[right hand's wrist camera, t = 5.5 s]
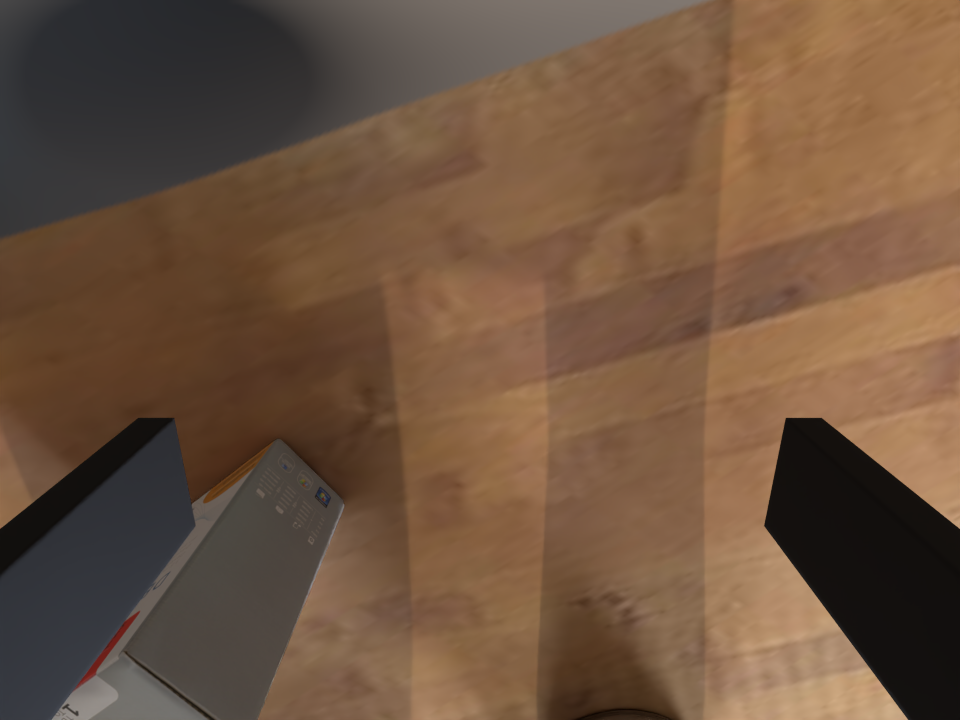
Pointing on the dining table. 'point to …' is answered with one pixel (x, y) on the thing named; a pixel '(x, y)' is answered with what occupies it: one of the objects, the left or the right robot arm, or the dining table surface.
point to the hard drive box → (219, 602)
